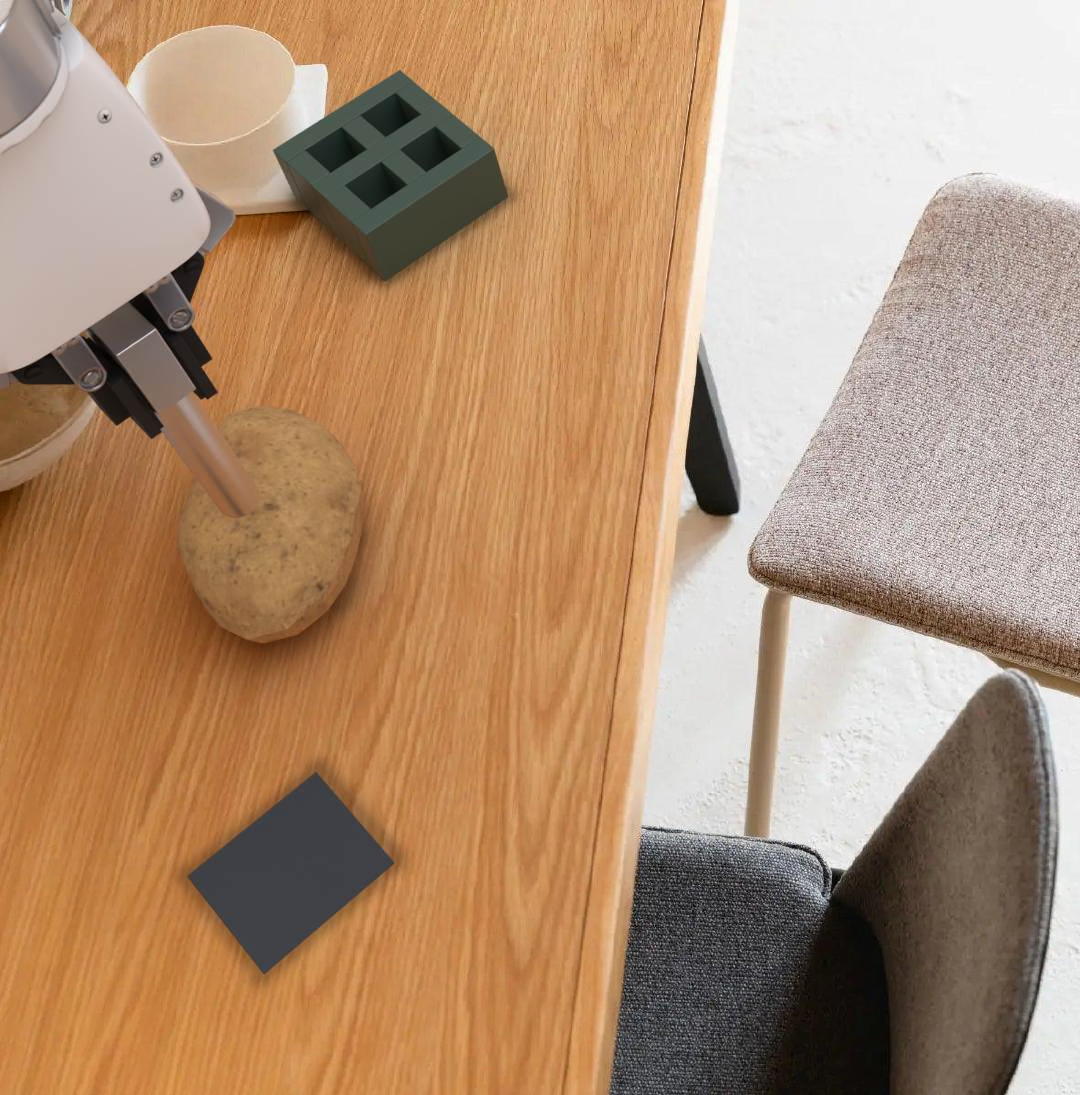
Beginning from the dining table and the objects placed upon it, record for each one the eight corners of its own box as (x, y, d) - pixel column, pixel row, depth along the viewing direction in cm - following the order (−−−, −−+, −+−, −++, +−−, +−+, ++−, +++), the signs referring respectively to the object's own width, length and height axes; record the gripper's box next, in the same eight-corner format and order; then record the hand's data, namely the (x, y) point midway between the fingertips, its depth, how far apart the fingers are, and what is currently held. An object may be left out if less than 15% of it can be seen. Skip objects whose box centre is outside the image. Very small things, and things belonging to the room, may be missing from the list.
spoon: (198, 488, 70) (58, 300, 57) (232, 462, 70) (102, 271, 58) (246, 538, 68) (114, 357, 56) (281, 512, 69) (158, 327, 57)
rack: (297, 203, 98) (272, 149, 93) (419, 125, 101) (399, 69, 97) (387, 287, 94) (365, 234, 90) (510, 202, 98) (494, 148, 93)
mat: (190, 879, 75) (186, 876, 75) (319, 775, 78) (315, 771, 77) (268, 977, 73) (263, 974, 72) (397, 866, 75) (394, 862, 75)
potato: (200, 686, 81) (138, 621, 74) (222, 472, 87) (167, 394, 80) (378, 666, 81) (334, 600, 74) (386, 455, 88) (346, 376, 81)
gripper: (82, -118, 50) (269, 245, 66) (-373, 131, 44) (-48, 460, 60) (207, -15, 47) (371, 337, 63) (-261, 263, 42) (48, 570, 58)
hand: (164, 395), depth 62 cm, fingers closed on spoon, 2 cm apart
